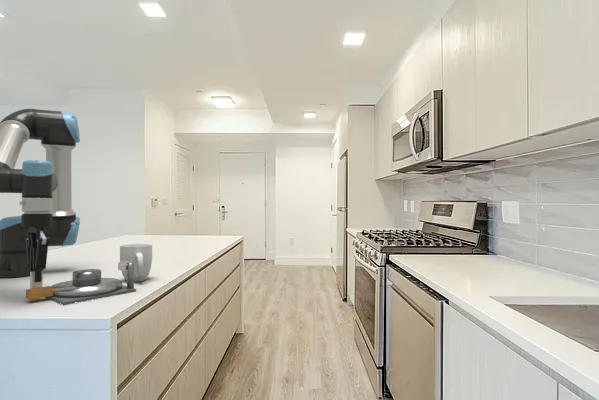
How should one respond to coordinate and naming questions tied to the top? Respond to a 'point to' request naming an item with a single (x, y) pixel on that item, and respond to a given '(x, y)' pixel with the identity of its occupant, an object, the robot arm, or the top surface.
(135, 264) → the mug
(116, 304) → the top surface
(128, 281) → the post
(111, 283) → the turntable
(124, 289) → the base plate
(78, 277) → the dark grey bowl
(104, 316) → the top surface
